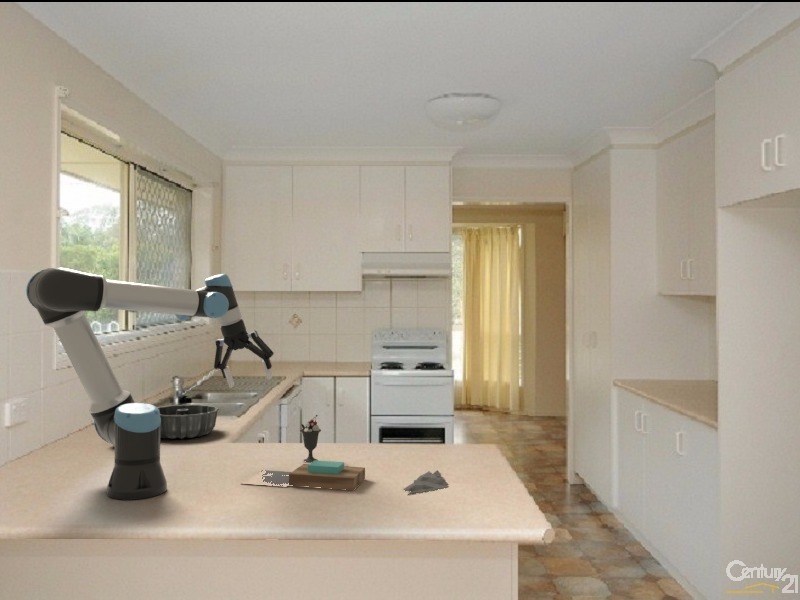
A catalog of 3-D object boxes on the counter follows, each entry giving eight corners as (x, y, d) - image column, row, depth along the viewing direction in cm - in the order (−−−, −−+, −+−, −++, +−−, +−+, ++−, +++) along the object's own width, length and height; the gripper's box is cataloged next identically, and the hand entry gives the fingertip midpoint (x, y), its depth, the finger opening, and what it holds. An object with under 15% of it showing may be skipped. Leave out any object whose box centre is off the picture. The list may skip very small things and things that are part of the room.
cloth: (423, 501, 181) (423, 493, 181) (381, 493, 189) (381, 484, 189) (469, 479, 203) (469, 472, 203) (430, 472, 210) (430, 465, 210)
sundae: (325, 460, 221) (325, 414, 221) (309, 464, 216) (309, 417, 216) (312, 457, 226) (312, 412, 226) (296, 460, 221) (296, 414, 221)
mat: (286, 487, 190) (286, 486, 190) (240, 484, 193) (240, 483, 193) (305, 473, 205) (305, 472, 205) (262, 471, 208) (262, 470, 208)
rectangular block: (337, 474, 192) (337, 467, 192) (307, 472, 194) (307, 465, 194) (344, 468, 198) (344, 462, 198) (314, 467, 200) (314, 460, 200)
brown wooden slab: (353, 491, 188) (353, 478, 188) (288, 486, 192) (288, 474, 192) (364, 479, 200) (365, 467, 200) (303, 475, 204) (303, 463, 204)
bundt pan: (166, 427, 274) (166, 402, 274) (228, 429, 271) (229, 404, 271) (132, 441, 248) (132, 414, 248) (200, 444, 245) (200, 416, 245)
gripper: (270, 310, 218) (289, 370, 223) (200, 325, 223) (221, 384, 228) (262, 317, 211) (282, 379, 216) (190, 333, 216) (212, 393, 221)
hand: (251, 382), depth 222 cm, fingers open, 13 cm apart
